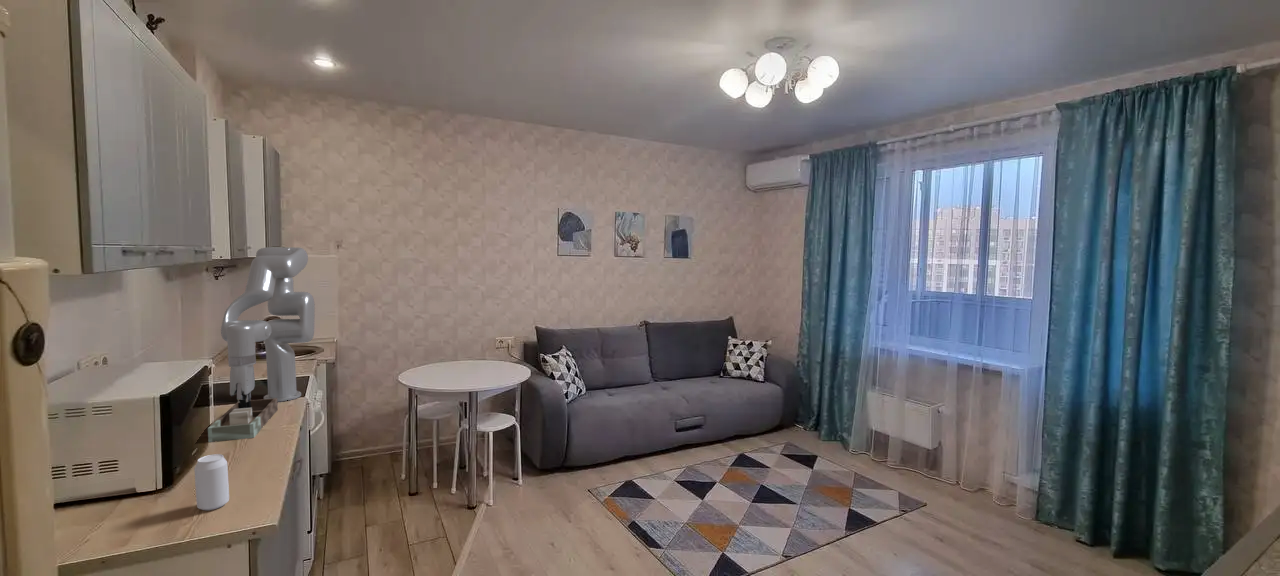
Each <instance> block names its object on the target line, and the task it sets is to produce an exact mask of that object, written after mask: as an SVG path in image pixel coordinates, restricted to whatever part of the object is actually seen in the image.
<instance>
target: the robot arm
mask: <svg viewBox="0 0 1280 576" xmlns="http://www.w3.org/2000/svg"><path fill="white" fill-rule="evenodd" d="M255 256H256V257H254V258H253V259H252V261H251V264H250V268H249V272H248V277H247V281H246V286H245V291H244V292H243V293H242V294H241V295H239V296H238V297H236V299H235V300H233V302H231V303H230V305H228V307H227V308H226V309H225V311H224V313H223V318H222V322H221V326H220V335H221V338H222V339H223V340H224V341H226V343H227V357H228V359H227V360H228V367H230V371H229V395H230V396H231V397H234V396H235V395H236V400H237V402H238V409H240V408H251V401H250V400H252V399H251V398H252V394H251V393H252V391H254V389H255V387H256V383H255V380H256V378H255V367H254V365H255V364H257V357H256V356H257V354H256V343H257V342H260V343H261V342H264V347H265V357H266V358H265V359H266V376H267V378H266V379H267V394H266V395H263V399H273V398H277V403H278V402H281V403H282V402H288V401H291V400H296V399H299V398H300V397H301V396H302V392H301V391H299V390H297V389H298V388H297V371H296V354H295V351H294V349H293V348H292V347H291V345H290V344H297V343H298V344H302V343H303V344H304V343H309V342H311V341H313V338H314V335H315V315H316V314H315V312H316V310H315V309H316V307H315V305H316V303H315V298H314V296H313V295H312V293H310V292H308V291H294V277H297V276H298V275H299V274H300V273H301V272H302V271H303V270H304V269H305V268H306V266H307V265H308V262H309V255H308V253H307V251H306V250H305V248H303V247H293V246H291V247H285V246H283V247H281V246H278V247H277V246H275V247H273V246H269V247H262V248H260V249H257V251H256V254H255ZM265 302H267V311H268V313H269V314H270V315H272V316H277V317H284V316H285V317H287V316H290V317H291V316H292V317H293V316H295V317H296V316H297V317H298V316H299V318H282V319H281V318H278V319H271V320H268V321H266V320H261V319H253V320H252V319H251V320H250V319H246V320H243V319H242V320H240V319H239V317H240V316H241V315H242V314H243V313H244V312H245V311H247V310H248V309H250V308H253V307H255V306H258V305H260V304H263V303H265ZM238 319H239V320H238ZM287 400H288V401H287Z"/></svg>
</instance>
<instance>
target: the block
mask: <svg viewBox="0 0 1280 576" xmlns="http://www.w3.org/2000/svg"><path fill="white" fill-rule="evenodd" d="M229 417H230V425H239V424H248V423H249V422H250V421H251V420H252V408H240V409H234V410H233V411H232V412H230V413H229Z"/></svg>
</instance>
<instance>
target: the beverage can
mask: <svg viewBox="0 0 1280 576" xmlns="http://www.w3.org/2000/svg"><path fill="white" fill-rule="evenodd" d="M196 462H197V463H196V464H195V467H194V468H193V469H194V470H193V471H194V482H195V483H194V484H195V498H196V507H197V509H199V510H202V511H214V510H218V509H220V508H222V507H223V506H225V505H226V504H227V503H228V502H229V501H230V486H229V471H228V470H229V469H228V461H227V459H226V458H225V457H224V455H223V454H220V453H215V454H208V455H205V456H201V457H200V458H198V459H197V461H196Z"/></svg>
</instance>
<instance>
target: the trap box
mask: <svg viewBox="0 0 1280 576" xmlns="http://www.w3.org/2000/svg"><path fill="white" fill-rule="evenodd" d="M250 401H251V408H252V420H251V421H250V422H249V423H248V424H239V425H230V417H229V413H230V412H232V411H233V410H234V409H238V401H237V402H236V403H235V404H234V405H233V406H231V407H230V408H229V409H228V410H227V411H226V412H224V413H223V414H222V415H221V416H220V417H219V418H218V419H217V420H216V421H215V422H213V423H212V424H211V425H210V426H209V427H207V438H208V443H214V442H215V441H217V442H224V441H225V442H226V440H227V441H235V440H244V439H245V438H246V439H252V438H253V439H254V438H255V437H256V436H257V435H258V434H259V432H260V431H261V430H262V429H263V426H264V427H265V425H266V424H267V423H268V422H269V421H270V420H271V418H273V416H274V415H275V414H276V413H277V411H279V410H278V409H279V406H278V402H277V398H273V399H264V398H263V399H251V400H250ZM269 419H270V420H269ZM268 420H269V421H268Z"/></svg>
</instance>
